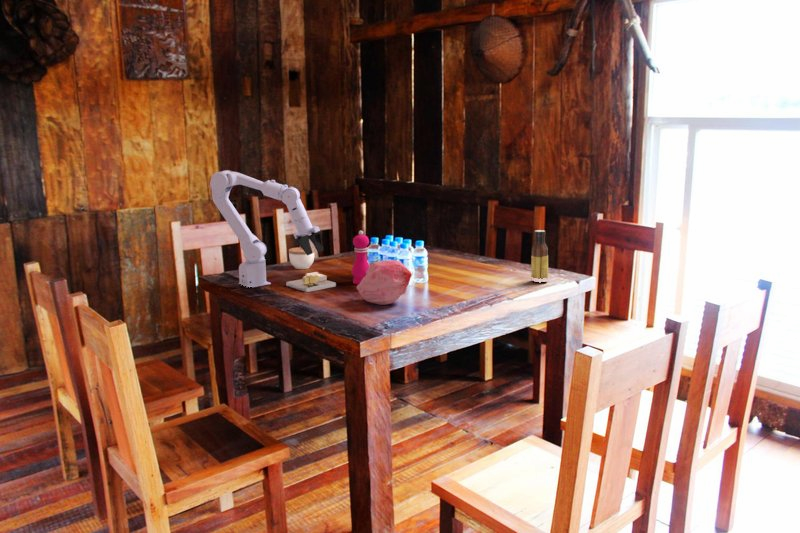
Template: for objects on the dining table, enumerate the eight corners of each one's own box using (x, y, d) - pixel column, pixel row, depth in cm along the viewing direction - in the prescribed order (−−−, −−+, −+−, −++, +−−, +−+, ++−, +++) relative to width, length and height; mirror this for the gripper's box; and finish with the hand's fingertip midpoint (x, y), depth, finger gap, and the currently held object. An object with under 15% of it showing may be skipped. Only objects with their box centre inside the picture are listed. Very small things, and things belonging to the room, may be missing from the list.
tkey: (307, 290, 246) (306, 278, 245) (301, 289, 249) (300, 276, 248) (320, 288, 250) (320, 275, 249) (314, 286, 253) (314, 274, 252)
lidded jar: (292, 271, 280) (291, 248, 278) (286, 266, 289) (285, 244, 287) (317, 269, 283) (317, 246, 282) (311, 264, 293) (310, 242, 291)
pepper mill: (368, 285, 255) (367, 232, 251) (349, 284, 257) (348, 231, 253) (372, 281, 262) (372, 229, 258) (354, 280, 264) (354, 228, 260)
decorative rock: (419, 282, 236) (395, 246, 235) (420, 288, 222) (394, 249, 221) (374, 312, 238) (349, 276, 236) (372, 319, 223) (346, 281, 222)
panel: (306, 292, 245) (306, 288, 244) (286, 285, 254) (286, 281, 254) (335, 286, 253) (335, 282, 253) (315, 280, 263) (315, 276, 262)
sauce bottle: (546, 280, 265) (549, 229, 261) (548, 284, 259) (551, 232, 254) (529, 279, 265) (531, 229, 261) (531, 283, 259) (533, 231, 255)
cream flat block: (311, 282, 252) (311, 276, 252) (303, 280, 256) (303, 274, 256) (326, 279, 257) (326, 273, 257) (318, 277, 261) (318, 271, 260)
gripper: (319, 211, 247) (334, 246, 249) (298, 218, 258) (313, 251, 261) (304, 218, 243) (319, 253, 245) (284, 225, 254) (298, 258, 256)
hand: (315, 252), depth 252 cm, fingers open, 7 cm apart
